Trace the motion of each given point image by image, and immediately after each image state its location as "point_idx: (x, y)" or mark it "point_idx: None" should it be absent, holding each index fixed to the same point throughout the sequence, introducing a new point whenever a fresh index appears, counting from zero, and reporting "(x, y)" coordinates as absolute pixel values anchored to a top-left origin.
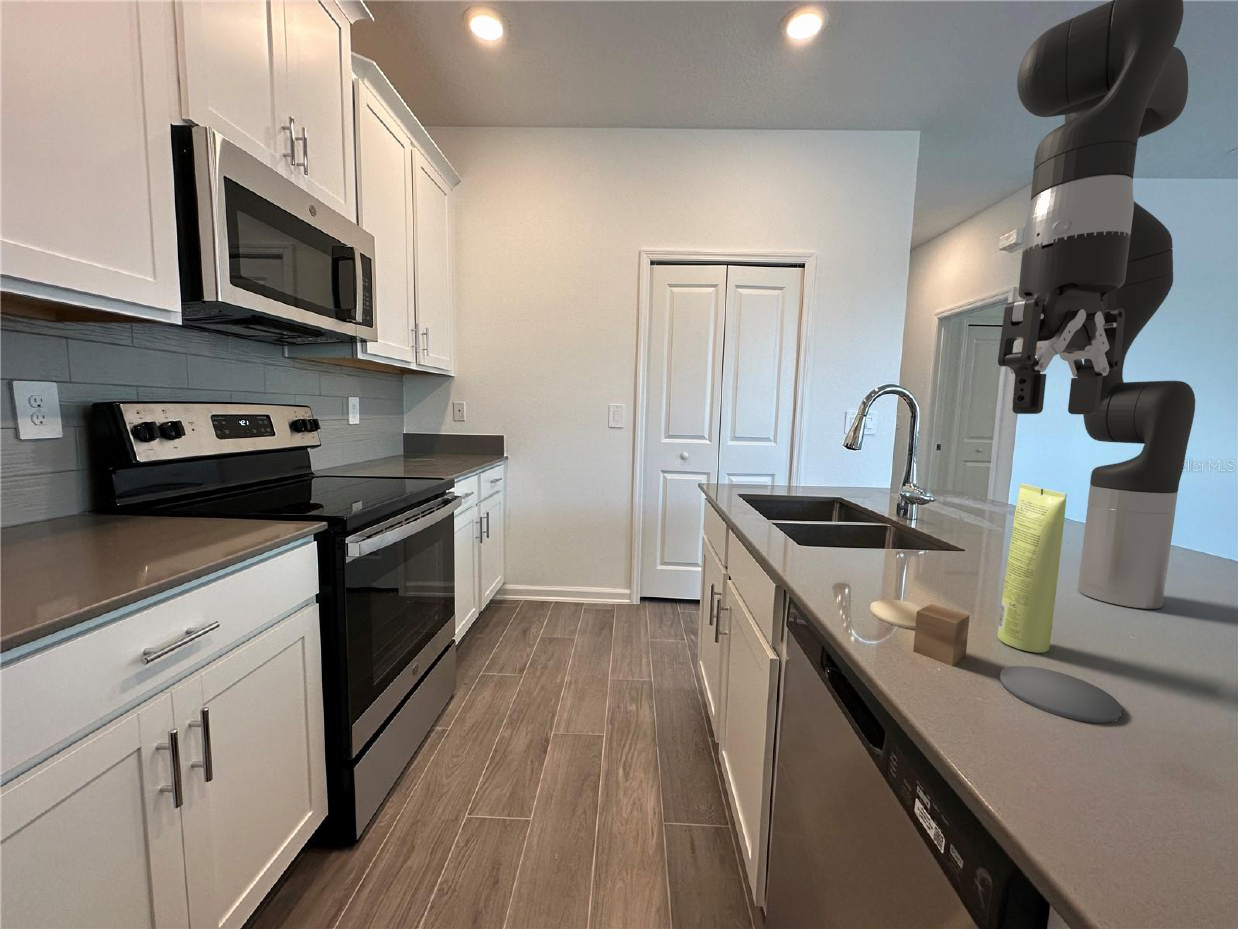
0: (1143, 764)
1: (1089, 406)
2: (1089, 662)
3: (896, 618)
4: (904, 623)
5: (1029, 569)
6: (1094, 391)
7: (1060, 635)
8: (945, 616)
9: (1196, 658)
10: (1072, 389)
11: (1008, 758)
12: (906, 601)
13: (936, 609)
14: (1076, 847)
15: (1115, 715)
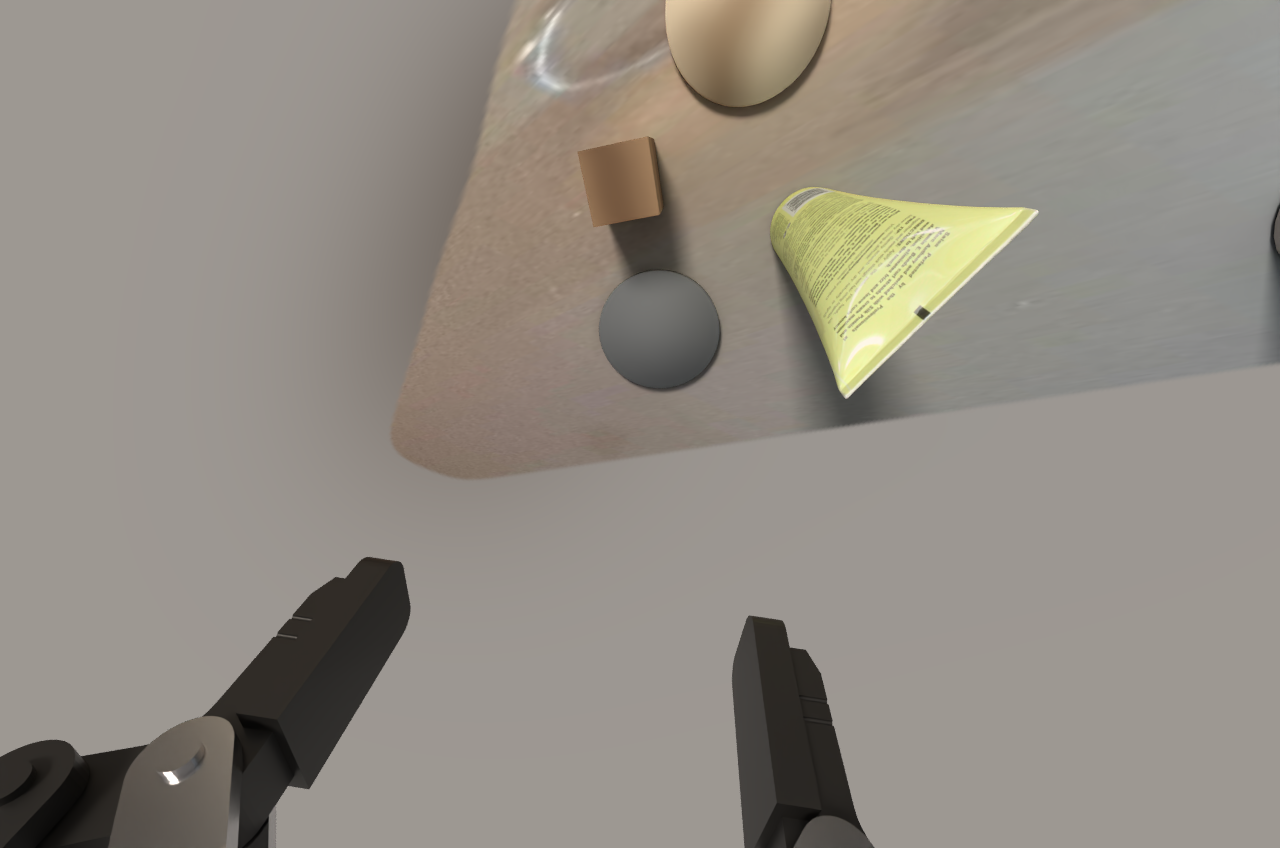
0: (589, 420)
1: (736, 688)
2: None
3: (684, 29)
4: (675, 60)
5: (797, 272)
6: (739, 767)
7: None
8: (607, 197)
9: (988, 378)
10: (764, 730)
11: (474, 361)
12: None
13: (626, 164)
14: (426, 427)
15: (652, 387)
